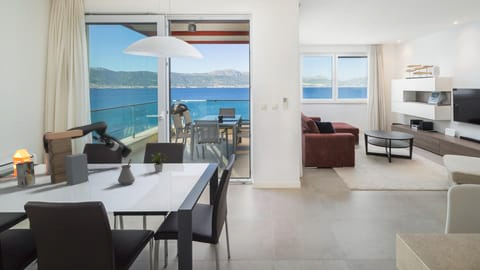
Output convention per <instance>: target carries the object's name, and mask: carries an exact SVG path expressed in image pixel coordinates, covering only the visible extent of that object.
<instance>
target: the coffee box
mask: <svg viewBox="0 0 480 270" xmlns="http://www.w3.org/2000/svg"><path fill="white" fill-rule="evenodd" d="M34 165H35V164H34V161H30V162H22V163H18V164H16V172H17V176H16V180H17V187H20V188H22V187H23V188H24V187H25V188H26V187H29V186H32V185H35V184H36V176H35V167H34Z"/></svg>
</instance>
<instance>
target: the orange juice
mask: <svg viewBox="0 0 480 270" xmlns="http://www.w3.org/2000/svg"><path fill="white" fill-rule="evenodd" d="M12 161H13V162H12V163H13V171H14V173H13V175H14V177H17V172H16V164H18V163H22V162H31V155H30V154H29V152H28V151H27V150H26V148H23V149H19V150H16V151H15V154H14V155H13V157H12Z"/></svg>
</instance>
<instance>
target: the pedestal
mask: <svg viewBox="0 0 480 270" xmlns="http://www.w3.org/2000/svg"><path fill="white" fill-rule="evenodd" d="M65 160H66V174H67V181H66V185H70V186H75V185H79V184H83V183H88V182H89V172H88V171H89V169H88V154H87V153H81V152H80V153H76V154H72V155H68V156H65ZM87 181H88V182H87Z"/></svg>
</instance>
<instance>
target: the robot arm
mask: <svg viewBox="0 0 480 270" xmlns="http://www.w3.org/2000/svg"><path fill="white" fill-rule="evenodd" d="M107 129H108V123H107V122H106V121H102V120H100V121H96V122H93V123H90V124H86V125H80V126H75V127H71V128H69V129H67V130H65V131H72V130H82V132H83V135H81V136H73V137H71V140H75V139H79V138H83V137H86V136H87V135H89V134H91V133H92V132H95V133H96V135H98V136H99V137H98V136H95V135H93V136H92V139H93V140H94V141H96V142H98V143H99V144H103V145H104V147H105V148H107V149H109V150H111V151H113V152H116V153H117V154H119V156H120V157H121V158H123V159H125V158H128V157H129V155H130V154H131V153H132V152H133V151H132V150H133V149H132V147H130V146H128V145H126V144H124V143H123V142H122V141H121V140H120V139H119V138H117V137H116V136H114V135H113V136H112V135H111V134H108V132H107ZM46 133H53V132H52V131H48V132H46ZM42 143H43V149H44V152H45V171H46V175H49V176H50V163H49V150H48V139H46V138H45V133H44V134H43V136H42Z"/></svg>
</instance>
